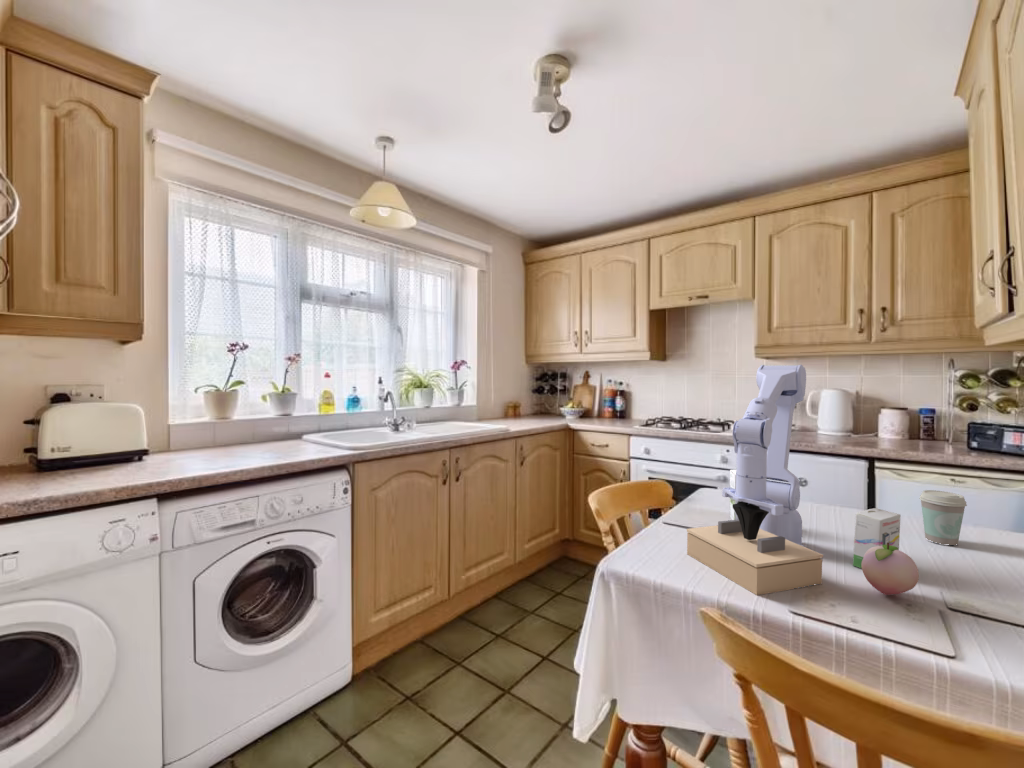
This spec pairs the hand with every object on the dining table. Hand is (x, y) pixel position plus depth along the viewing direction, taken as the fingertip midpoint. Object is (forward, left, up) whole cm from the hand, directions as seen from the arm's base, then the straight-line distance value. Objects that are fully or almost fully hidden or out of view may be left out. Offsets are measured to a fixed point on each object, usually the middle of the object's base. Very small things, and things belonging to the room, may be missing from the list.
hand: (750, 538), depth 97 cm
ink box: (-27, +7, -7) cm, 29 cm away
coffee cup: (-58, +1, -7) cm, 58 cm away
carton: (0, 0, -6) cm, 6 cm away
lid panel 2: (0, +5, -1) cm, 5 cm away
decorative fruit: (-16, +17, -7) cm, 24 cm away
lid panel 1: (0, -5, -1) cm, 5 cm away
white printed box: (-21, -24, -7) cm, 33 cm away
